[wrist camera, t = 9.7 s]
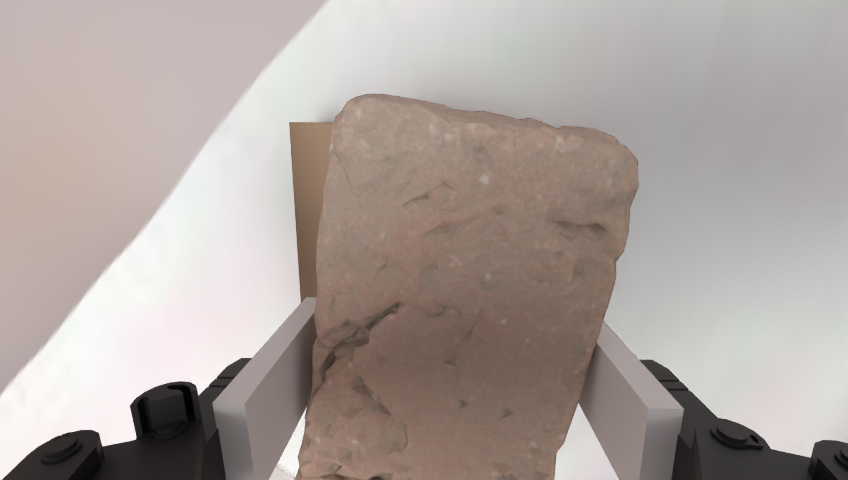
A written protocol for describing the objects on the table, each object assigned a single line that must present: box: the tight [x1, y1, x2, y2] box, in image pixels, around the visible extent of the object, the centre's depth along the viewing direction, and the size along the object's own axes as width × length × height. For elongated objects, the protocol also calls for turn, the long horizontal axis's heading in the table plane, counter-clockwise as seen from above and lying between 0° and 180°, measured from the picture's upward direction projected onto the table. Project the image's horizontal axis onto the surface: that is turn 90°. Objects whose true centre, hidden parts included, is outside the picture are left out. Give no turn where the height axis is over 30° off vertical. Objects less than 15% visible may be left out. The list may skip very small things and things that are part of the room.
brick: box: [295, 94, 639, 480], centre depth 14 cm, size 16×8×5 cm, turn 171°
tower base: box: [289, 122, 334, 303], centre depth 23 cm, size 12×16×5 cm
